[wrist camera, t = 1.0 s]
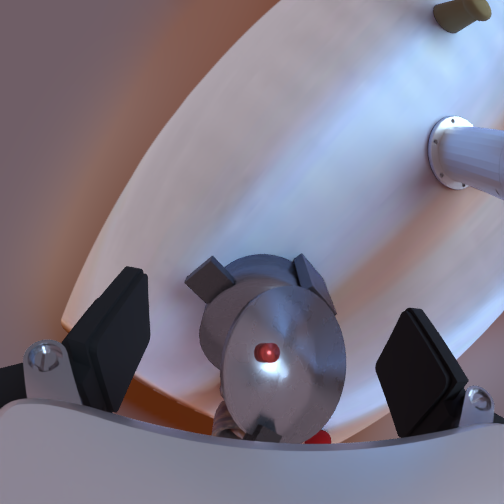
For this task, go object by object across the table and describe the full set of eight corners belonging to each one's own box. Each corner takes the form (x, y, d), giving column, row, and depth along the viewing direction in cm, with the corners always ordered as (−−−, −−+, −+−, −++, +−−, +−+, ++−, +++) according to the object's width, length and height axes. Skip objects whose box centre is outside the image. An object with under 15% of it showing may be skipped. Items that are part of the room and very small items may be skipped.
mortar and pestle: (240, 362, 55) (234, 448, 36) (274, 378, 57) (278, 461, 38) (211, 389, 59) (199, 467, 40) (243, 404, 61) (239, 478, 42)
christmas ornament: (298, 432, 66) (301, 462, 57) (320, 422, 64) (325, 453, 55) (312, 439, 68) (316, 468, 59) (333, 430, 66) (339, 459, 57)
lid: (274, 254, 34) (290, 248, 32) (352, 343, 40) (368, 342, 38) (154, 445, 20) (165, 455, 18) (284, 497, 25) (300, 504, 23)
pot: (259, 203, 42) (259, 225, 33) (353, 315, 50) (369, 352, 41) (169, 279, 47) (151, 313, 38) (269, 367, 55) (271, 406, 46)
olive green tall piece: (445, 35, 29) (483, 22, 19) (427, 6, 27) (462, -13, 17) (464, 31, 28) (502, 20, 17) (448, 3, 26) (482, -13, 15)
